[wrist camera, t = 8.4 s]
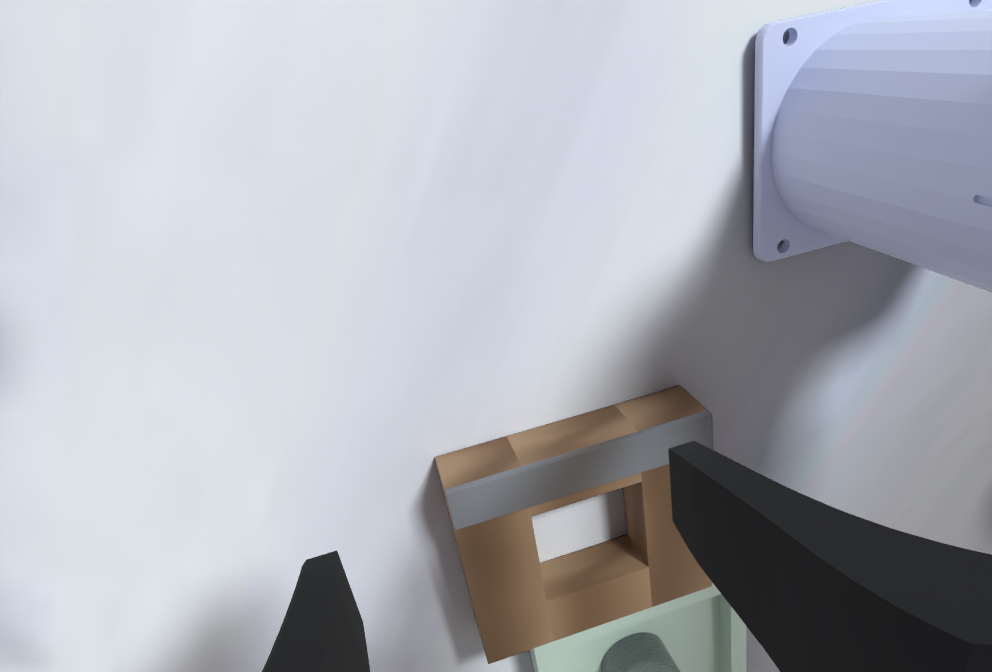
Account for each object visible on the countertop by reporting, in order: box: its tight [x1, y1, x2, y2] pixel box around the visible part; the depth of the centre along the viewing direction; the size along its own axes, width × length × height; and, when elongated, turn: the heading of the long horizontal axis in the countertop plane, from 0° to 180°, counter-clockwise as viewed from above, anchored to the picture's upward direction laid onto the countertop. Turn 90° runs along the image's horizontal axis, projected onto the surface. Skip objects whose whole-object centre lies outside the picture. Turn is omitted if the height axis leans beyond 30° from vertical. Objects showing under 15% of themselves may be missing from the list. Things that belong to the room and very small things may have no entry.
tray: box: [530, 583, 747, 672], centre depth 31 cm, size 10×10×2 cm
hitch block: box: [435, 386, 713, 664], centre depth 26 cm, size 10×9×2 cm
